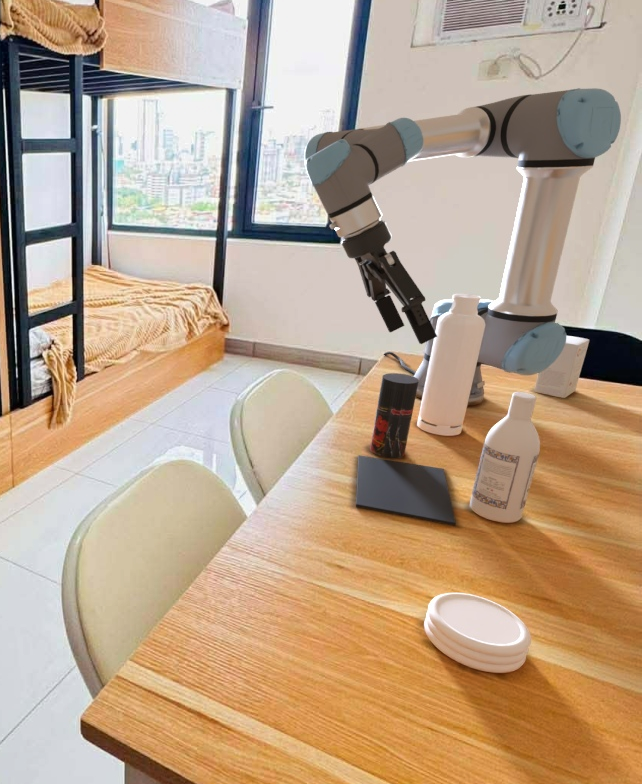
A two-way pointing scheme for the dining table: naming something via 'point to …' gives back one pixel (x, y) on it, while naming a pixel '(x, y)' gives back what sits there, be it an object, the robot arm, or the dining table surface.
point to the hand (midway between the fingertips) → (411, 334)
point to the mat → (404, 489)
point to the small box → (563, 369)
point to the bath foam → (507, 463)
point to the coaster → (477, 632)
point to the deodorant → (393, 415)
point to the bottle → (452, 367)
